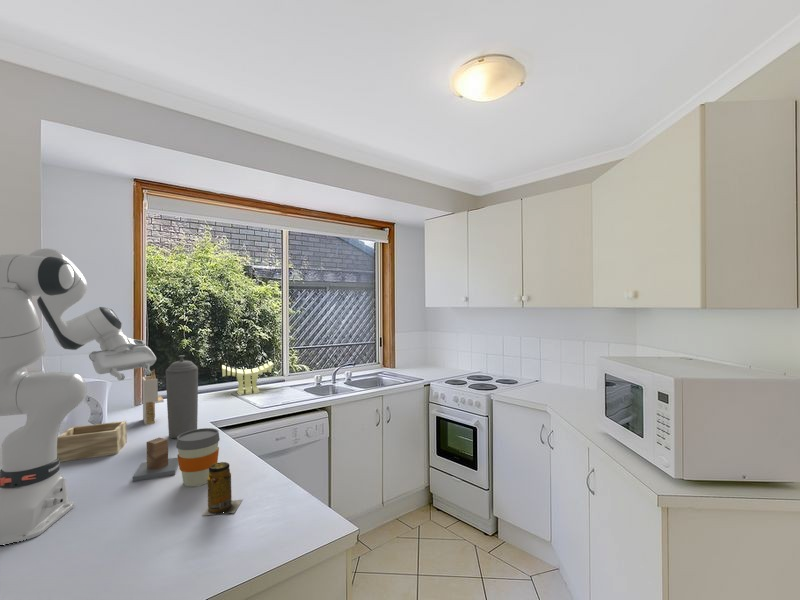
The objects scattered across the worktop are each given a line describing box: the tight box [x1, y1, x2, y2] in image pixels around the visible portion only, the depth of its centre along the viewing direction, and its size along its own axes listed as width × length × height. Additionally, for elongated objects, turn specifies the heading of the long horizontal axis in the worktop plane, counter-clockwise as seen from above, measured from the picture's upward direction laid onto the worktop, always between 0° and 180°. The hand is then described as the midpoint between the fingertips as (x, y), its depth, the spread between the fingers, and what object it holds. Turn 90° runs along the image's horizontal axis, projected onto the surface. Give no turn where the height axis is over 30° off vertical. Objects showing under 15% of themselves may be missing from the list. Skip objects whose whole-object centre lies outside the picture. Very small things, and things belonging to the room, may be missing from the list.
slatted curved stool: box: [221, 361, 274, 395], centre depth 251 cm, size 30×16×18 cm, turn 114°
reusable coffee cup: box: [175, 427, 221, 487], centre depth 126 cm, size 12×13×15 cm
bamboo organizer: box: [57, 420, 128, 463], centre depth 152 cm, size 13×18×9 cm
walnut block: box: [146, 437, 169, 470], centre depth 134 cm, size 4×4×9 cm
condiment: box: [202, 461, 243, 516], centre depth 109 cm, size 7×8×12 cm
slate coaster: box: [132, 457, 179, 482], centre depth 134 cm, size 12×12×2 cm
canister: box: [165, 354, 199, 439], centre depth 170 cm, size 13×13×35 cm
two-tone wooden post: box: [141, 369, 165, 426], centre depth 192 cm, size 8×12×26 cm
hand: (135, 376), depth 141 cm, fingers open, 8 cm apart
